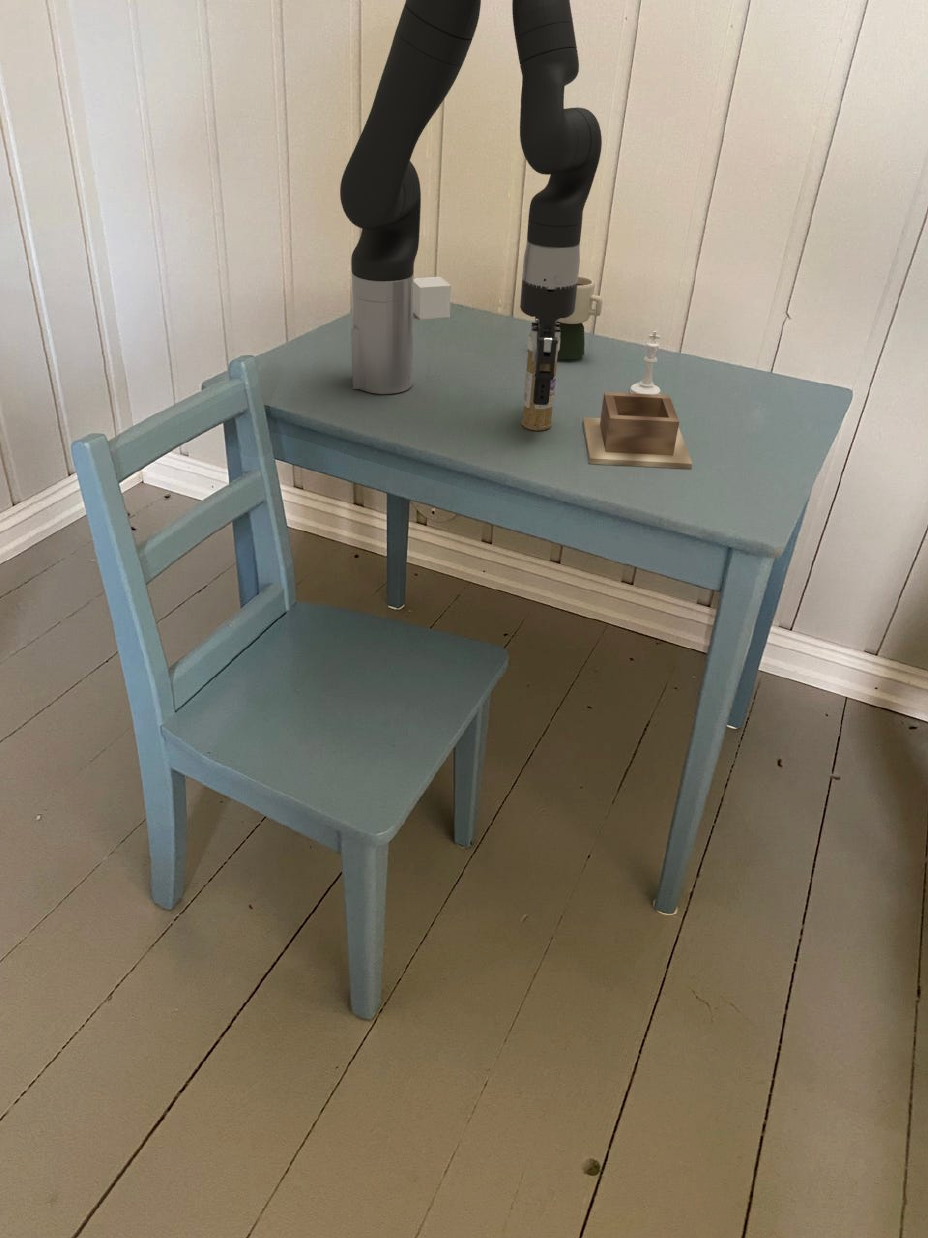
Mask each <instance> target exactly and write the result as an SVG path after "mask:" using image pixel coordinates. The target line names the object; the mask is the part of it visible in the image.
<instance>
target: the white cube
mask: <svg viewBox="0 0 928 1238" xmlns="http://www.w3.org/2000/svg"><path fill="white" fill-rule="evenodd" d="M451 293H452V285H451V284H450V283H449V282H447V280H445V279H444V278H443V277H441V276H432V277H431V276H430V277H418V278H417V277H416V278H414V289H413V315H415V316H416V317H417V318H418V319H419V320H431V319H433V320H434V319H444V318H450V317H451Z"/></svg>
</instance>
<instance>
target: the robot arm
mask: <svg viewBox="0 0 928 1238" xmlns="http://www.w3.org/2000/svg"><path fill="white" fill-rule="evenodd" d="M570 2H571V1H570V0H512V1H511V3H512V5H511V6H512V9H511V10H512V25H513V33H514V38H515V45H516V50H517V56H518V61H519V65H520V66H519V68H520V72H521V79H522V80H521V90H520V91H521V93H520V112H519V113H520V117H519V140H520V145H521V150H522V152H523V156H524V158H525V160H526V162H527V164H528V165H529V166H530V167H531V169H532V170H533V171H535V172H536V173H538V174H541V175H544V176H545V175H546V176H549V178H548V183H547V184H546V186H545V187H544V188H543V189H541V190H540V191H539V192H538V193H536V194H535V195H533V197H532V198H531V201H530V204H529V210H528V217H527V218H528V219H527V221H528V222H527V233H526V234H527V235H526V243H525V244H526V245H525V249H524V254H523V263H522V275H521V277H522V278H521V289H520V290H521V291H520V301H519V302H520V305H519V307H520V311H521V312H522V313H523V314H525V315H526V316H528V317H532V318H534V322H533V321H531V322H530V323H531V325H530V334H531V340H532V342H533V348H532V361H533V362H534V363H535V373H534V377H535V384H534V396H533V403H534V404H535V405H547V404H548V403H549V396H550V385H551V380H553V378H554V376H555V374H554V367H555V362H556V360H557V361H558V358H557V352H558V342H559V340H560V329H559V323H556V320H558V319H560V318H567V317H569V316H571V315H572V314H573V313H574V311H575V303H576V294H577V284H578V275H579V273H580V262H581V252H580V251H581V250H580V249H581V248H580V247H581V239H582V238H581V236H582V235H581V234H582V227H583V216H584V215H583V213H584V210H585V209H584V208H585V205H586V203H587V200H588V198H589V194H590V192H591V189H592V187H593V186H592V185H593V182H594V179H595V176H596V173H597V170H598V167H599V163H600V159H601V153H602V146H603V140H602V137H603V136H602V130H601V125H600V123H599V121H598V119H597V116H595V114H594V113H592V111H591V110H590V109H587V108H583V107H579V106H578V107H568V108H567V107H566V108H565V105H564V100H565V87H566V86H568V85H570V84H571V83H573V81H574V80H576V79H577V77H578V75H579V71H580V61H579V53H578V47H577V40H576V33H575V28H574V22H573V14H572V8H571V3H570ZM481 4H482V0H405V3H404V5H403V8H402V12H401V14H400V17H399V21H398V24H397V26H396V29H395V33H394V36H393V39H392V42H391V47H390V49H389V52H388V55H387V59H386V62H385V64H384V68H383V71H382V73H381V77H380V80H379V83H378V85H377V90H376V93H375V95H374V98H373V99H374V100H373V103H372V106H371V109H370V112H369V114H368V117H367V118H366V122H365V125H364V127H363V128H362V129H363V130H362V131H361V133H360V136H359V138H358V140H357V142H356V145H355V147H354V149H353V152H351V156H350V158H349V159H348V162H347V165H346V166H345V169H344V171H343V175H342V177H341V182H340V188H339V196H340V203H341V206H342V209H343V212H344V214H345V216H346V217H347V219H348V220H349V222H351V224H352V225H354V226H355V227H357V228H360V229H361V231H360V236H359V239H358V242H357V244H356V246H355V247H354V249H353V251H352V252H351V256H350V259H351V260H350V262H351V263H350V266H351V267H350V269H351V293H352V294H351V296H352V326H351V329H350V339H351V341H350V343H351V344H350V345H351V375H352V377H351V378H352V389H354V390H361V391H364V392H367V393H371V394H378V395H389V394H398V393H402V392H405V391H407V390H410V389H411V387H412V386H413V384H414V383H413V378H414V313H413V289H414V273H415V271H414V265H415V261H416V258H417V254H418V251H419V246H420V245H419V244H420V229H421V227H420V226H421V210H422V209H421V208H422V207H421V206H422V205H421V203H422V201H421V200H422V197H421V196H422V192H421V183H420V179H419V174H418V171H417V170H416V168H415V166H414V164H413V163H412V161H411V159H412V155H413V153H414V150H415V147H416V145H417V143H418V141H419V140H420V137H421V135H422V133H423V131H424V130H425V128H426V126H427V125H428V124H429V122H430V121H431V119H432V118H433V116H434V115H435V114H436V112H437V110H438V109H439V108H440V107H441V104H442V103H443V102H444V99H445V98H446V97H447V95H448V94H449V93H450V91H451V88H452V87H453V85H454V84H455V82H456V79H457V77H458V75H459V73H460V71H461V70H462V67H463V65H464V62H465V59H466V57H467V55H468V52H469V49H470V47H471V44H472V41H473V38H474V37H475V34H476V30H477V27H478V23H479V19H480V12H481ZM536 350H538V351H537V353H536ZM541 364H549V371H540V365H541ZM555 377H556V376H555Z"/></svg>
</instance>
